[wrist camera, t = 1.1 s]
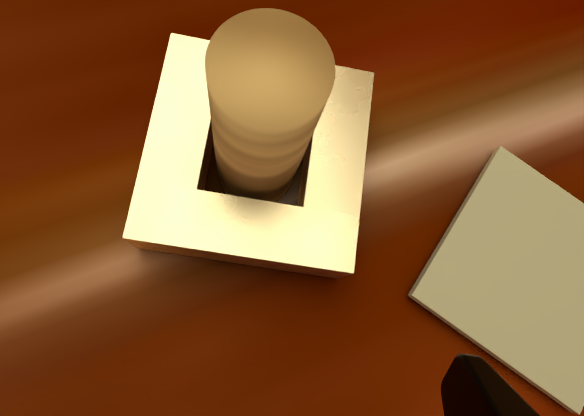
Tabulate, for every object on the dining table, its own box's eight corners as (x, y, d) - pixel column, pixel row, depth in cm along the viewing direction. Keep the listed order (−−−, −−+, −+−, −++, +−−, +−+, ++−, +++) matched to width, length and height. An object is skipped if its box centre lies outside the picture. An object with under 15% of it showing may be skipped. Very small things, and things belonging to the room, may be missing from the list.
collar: (338, 278, 22) (353, 273, 19) (137, 248, 21) (122, 237, 18) (357, 101, 25) (373, 72, 22) (178, 67, 24) (171, 33, 21)
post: (287, 212, 23) (327, 136, 13) (210, 199, 22) (192, 112, 13) (298, 141, 24) (342, 22, 14) (224, 127, 23) (217, -4, 14)
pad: (570, 412, 22) (579, 414, 22) (407, 295, 22) (411, 295, 22) (641, 251, 25) (651, 250, 24) (494, 149, 25) (500, 145, 25)
